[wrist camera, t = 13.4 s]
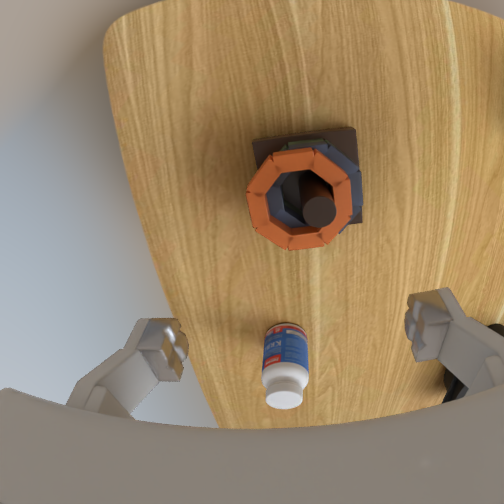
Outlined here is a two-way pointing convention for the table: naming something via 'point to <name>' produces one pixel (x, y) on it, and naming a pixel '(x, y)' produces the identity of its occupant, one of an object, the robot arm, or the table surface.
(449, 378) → the black cylinder with pointer
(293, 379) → the pill bottle
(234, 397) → the table surface
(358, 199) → the stack post
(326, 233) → the orange ring
